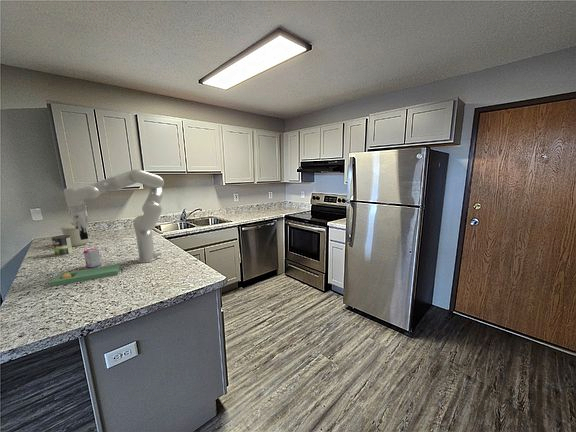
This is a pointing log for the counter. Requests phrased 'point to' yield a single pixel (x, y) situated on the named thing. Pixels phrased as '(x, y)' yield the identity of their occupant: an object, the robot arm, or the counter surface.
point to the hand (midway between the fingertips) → (84, 239)
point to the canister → (74, 235)
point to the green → (86, 275)
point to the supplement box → (92, 258)
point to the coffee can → (62, 245)
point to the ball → (66, 275)
